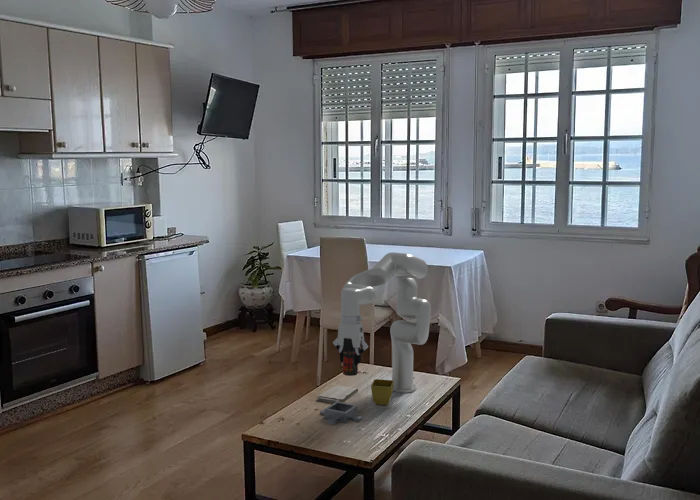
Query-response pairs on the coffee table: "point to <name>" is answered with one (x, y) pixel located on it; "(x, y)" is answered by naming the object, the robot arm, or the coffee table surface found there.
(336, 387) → the washcloth
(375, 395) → the flower pot
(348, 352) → the deodorant
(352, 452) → the coffee table surface
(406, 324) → the robot arm
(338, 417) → the tabbed square frame
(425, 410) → the coffee table surface
